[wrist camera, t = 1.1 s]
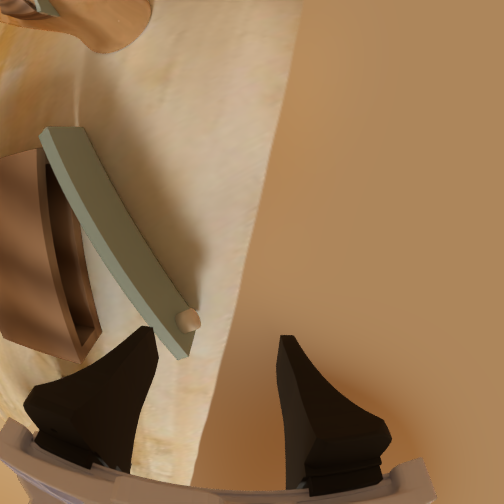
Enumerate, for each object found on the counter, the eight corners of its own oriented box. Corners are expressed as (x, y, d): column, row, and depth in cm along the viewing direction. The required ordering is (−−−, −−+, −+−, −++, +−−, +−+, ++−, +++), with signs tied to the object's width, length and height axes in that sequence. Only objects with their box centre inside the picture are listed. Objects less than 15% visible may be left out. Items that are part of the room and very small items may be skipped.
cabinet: (102, 332, 24) (81, 364, 19) (26, 315, 24) (3, 338, 19) (75, 144, 18) (36, 148, 13) (-4, 162, 17) (-37, 170, 13)
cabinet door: (210, 315, 22) (202, 351, 18) (188, 324, 23) (177, 360, 19) (92, 114, 16) (56, 110, 12) (73, 131, 17) (36, 131, 12)
